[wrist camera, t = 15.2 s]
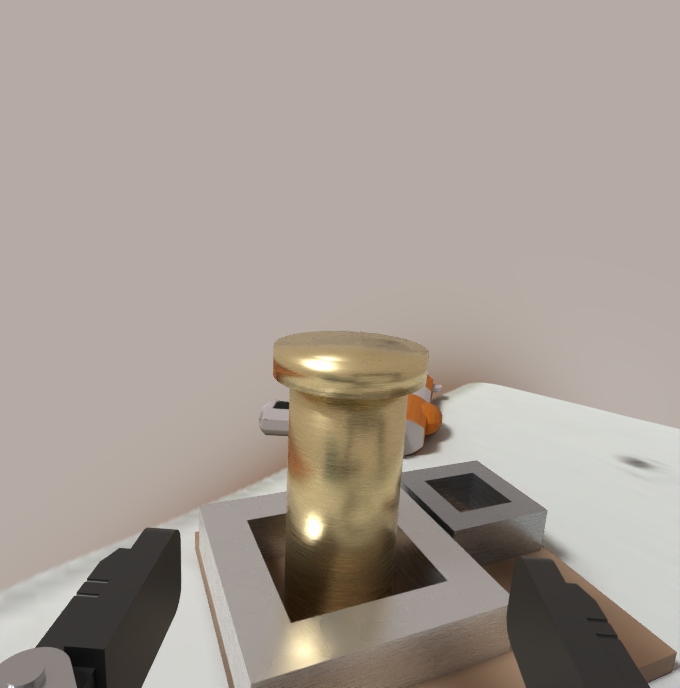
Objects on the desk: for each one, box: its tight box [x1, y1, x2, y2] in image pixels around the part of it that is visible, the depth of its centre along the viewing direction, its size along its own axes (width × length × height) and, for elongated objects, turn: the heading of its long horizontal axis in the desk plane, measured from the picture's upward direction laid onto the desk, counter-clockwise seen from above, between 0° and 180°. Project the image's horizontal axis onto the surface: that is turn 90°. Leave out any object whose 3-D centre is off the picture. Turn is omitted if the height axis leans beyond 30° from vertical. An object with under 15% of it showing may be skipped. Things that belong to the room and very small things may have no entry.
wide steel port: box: [199, 488, 510, 688], centre depth 24 cm, size 11×11×2 cm
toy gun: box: [259, 375, 442, 456], centre depth 50 cm, size 3×19×15 cm
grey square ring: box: [401, 461, 547, 566], centre depth 30 cm, size 6×6×2 cm
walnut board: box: [195, 509, 677, 688], centre depth 25 cm, size 18×15×1 cm
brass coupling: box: [273, 331, 429, 622], centre depth 23 cm, size 6×6×12 cm
